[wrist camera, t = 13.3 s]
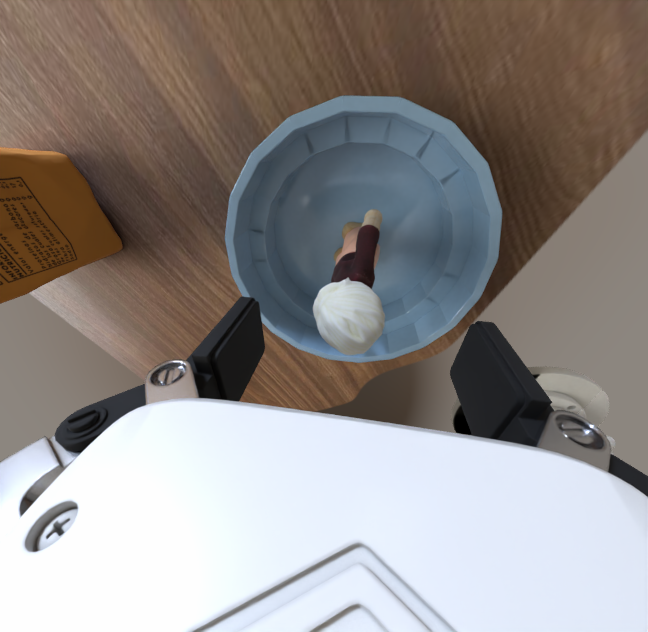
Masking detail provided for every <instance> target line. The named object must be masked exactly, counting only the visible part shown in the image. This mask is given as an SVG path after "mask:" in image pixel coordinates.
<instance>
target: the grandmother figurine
mask: <svg viewBox="0 0 648 632" xmlns="http://www.w3.org/2000/svg"><path fill="white" fill-rule="evenodd" d="M382 218H383V217H382V214H381V212H380V211H379V210H376V209H371V210H369V211H368V212H367V213H366V214H365V217H364V222H363V223H357V222H348V223H347V224H345V225H344V227H343V230H342V237H343V239H344V244H343V247H342V248H339V249H338V250H337V251H336V252H335V254H334V260H335V262H336V264H335V268H334V271H333V275H332V278H331V283H330V284H328V285H326V286H325V287H323V288H322V289H321V290H320V291H319V293H318V295H317V298H316V300H315V302H314V305H313V313H314V317H315V320H316V322H317V327H318V330H319V333H320V335H321V336H322V338H323V339H324V340H325V341H326V342H327V343H328V344H329V345H330V346H332V347H334V348H335V349H337V350H338V351H339V352H341V353H343V354H345V355H356V354H363V353H365V352H366V351H367V350H368V349H369V348H370V347H371V346H372V345H373V343H374V342H375V341H376V340H377V339H378V338H379V337H380V336H381V335H382V331H383V328H384V325H385V324H384V322H385V314H384V312H383V308H382V305H381V300H380V298H379V297H378V296H377V295H376V294H375V293H374V291H373V290H372V287H373V284H374V281H375V274H374V269H375V266H376V264H377V262H378V259H379V254H380V246H379V244H377V243H378V241H379V236H380V224H381V223H382Z"/></svg>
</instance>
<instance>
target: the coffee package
mask: <svg viewBox="0 0 648 632" xmlns="http://www.w3.org/2000/svg"><path fill="white" fill-rule="evenodd" d="M121 249H122V242H121V239H120V238H119V236H118V235H117V234H116V232H115V231H114V229H113V227H112V225H111V224H110V222H109V221H108V219H107V217H106V216H105V215H104V213H103V212H102V210H101V209H100V207H99V205H98V203H97V202H96V200H95V197H94V195H93V193H92V191H91V188H90V186H89V185H88V183H87V181H86V179H85V178H84V177H83V176H82V174H81V173H80V172H79V171H78V170H77V169H76V167H75V166H74V165H73V163H72V162H71V160H70V159H69V158H68V157H67V156H66V155H64V154H61V153H58V152H54V151H35V150H25V149H15V148H3V147H0V304H1V303H3V302H6V301H9V300H12V299H14V298H17V297H20V296H23V295H25V294H27V293H29V292H31V291H33V290H35V289H37V288H38V287H40V286H42V285H44V284H46V283H48V282H50V281H52V280H54V279H56V278H58V277H60V276H63V275H65V274H67V273H70V272H72V271H74V270H76V269H78V268H80V267H82V266H85V265H87V264H90V263H92V262H95V261H97V260H100V259H102V258H105V257H107V256H110V255H112V254H114V253H116V252H119V251H121Z"/></svg>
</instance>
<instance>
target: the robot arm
mask: <svg viewBox="0 0 648 632" xmlns="http://www.w3.org/2000/svg"><path fill="white" fill-rule="evenodd" d="M264 349H265V344H264V336H263V329H262V321H261V313H260V306H259V302H258V301H256V300H255V298H252V297H240V298H239V300H238V301H237V302H236V303H235V304H234V305H233V307H232V308H231V309H230V310H229V311H228V312H227V314H226V315H225V316H224V317H223V318H222V319H221V321H220V322H219V323H218V324H217V325H216V326H215V327H214V329H213V330H212V331H211V332H210V333H209V334H208V336H207V337H206V338H205V339H204V340H203V341H202V342H201V344H200V345H199V346H198V347H197V348H196V349H195V351H194V352H193V353H192V354H191V355H190V356H189V358H188V359H187V360H182V359H173V360H168V361H165V362H163V363H160V364H159V365H157V366H155V367H154V368H153V369H152V370H151V371H149V373H148V374H147V376H146V379H145V384H143V385H141V386H138V387H135V388H133V389H130V390H128V391H125V392H122V393H120V394H117V395H115V396H112V397H109V398H107V399H104V400H102V401H99V402H97V403H94V404H92V405H89V406H86V407H84V408H82V409H80V410H78V411H76V412H74V413H73V414H71V415H70V416H69V417H67V418H66V419H65V420H64V421H63V422H62V423H61V424H60V426H59V427H58V428H57V430H56V433H55V435H54V436H53V437H51V438H49V439H48V438H47V437H46V436H44V437H42V438H41V439H39V440H37V441H35V442H34V443H32V444H30V445H28V446H27V447H25V448H23V449H21V450H20V451H18V452H16V453H14V454H12V455H11V456H9V457H7V458H6V459H4V460H2V461H0V632H648V476H647V475H645V474H643V473H642V472H640V471H638V470H637V469H635V468H634V467H632V466H630V465H629V464H627V463H625V462H624V461H622V460H620V459H619V458H617V457H616V456H614V454H613V452H612V450H611V448H614V447H615V441H614V440H613V438H611V437H609V436H606V435H605V434H604V433H603V432H602V431H601V430H600V429H599V428H598V427H597V426H595V425H594V424H593V423H592V422H590V421H588V420H587V419H586V414H585V411H584V409H583V408H582V407H581V406H580V404H579V403H578V402H577V401H576V400H574V399H573V398H572V397H569V396H567V395H565V394H562V393H558V392H552V391H544V390H543V389H542V388H541V386H540V385H539V384H538V382H537V381H536V379H535V378H534V377H533V375H532V374H531V373H530V371H529V370H528V369H527V367H526V366H525V365H524V363H523V362H522V360H521V359H520V358H519V356H518V355H517V354H516V352H515V351H514V350H513V348H512V347H511V345H510V344H509V343H508V341H507V340H506V339H505V338H504V336H503V335H502V333H501V332H500V330H499V329H498V328H497V326H496V325H495V324H494V323H492V322H482V321H477V322H476V323H475V324H471V325H470V327H469V329H468V332H467V334H466V336H465V338H464V341H463V343H462V345H461V347H460V349H459V352H458V354H457V356H456V358H455V361H454V363H453V365H452V367H451V370H450V376H451V379H452V382H453V384H454V387H455V390H456V393H457V395H458V398H459V401H460V403H461V406H462V409H463V412H464V414H465V417H466V420H467V422H468V425H469V428H470V431H471V433H472V436H470V435H464V434H458V433H450V432H445V431H438V430H431V429H425V428H418V427H412V426H404V425H399V424H391V423H385V422H378V421H372V420H365V419H358V418H352V417H345V416H338V415H331V414H324V413H317V412H310V411H303V410H296V409H289V408H282V407H275V406H268V405H261V404H253V403H245V402H239V400H240V398H241V396H242V394H243V392H244V390H245V388H246V386H247V384H248V383H249V381H250V379H251V377H252V375H253V373H254V371H255V369H256V367H257V365H258V363H259V361H260V359H261V357H262V355H263V353H264Z"/></svg>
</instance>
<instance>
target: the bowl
mask: <svg viewBox="0 0 648 632" xmlns="http://www.w3.org/2000/svg"><path fill="white" fill-rule="evenodd" d="M371 209H376V210H379V211H380V212H381V214H382V217H383V218H382V223H381V224H380V236H379V241H378V243H377V244H379V246H380V254H379V259H378V262H377V264H376V266H375V269H374V274H375V281H374V284H373V287H372V290H373V291H374V293H375V294H376V295H377V296H378V297H379V298H380V300H381V305H382V308H383V312H384V314H385V322H384V324H385V325H384V328H383V331H382V335H381V336H380V337H379V338H378V339H377V340H376V341H375V342H374V343H373V345H372V346H371V347H370V348H369V349H368V350H367V351H366V352H365V353H363V354H356V355H345V354H343V353H341V352H339V351H338V350H337V349H335V348H334V347H332V346H330V345H329V344H328V343H327V342H326V341H325V340H324V339H323V338H322V336H321V335H320V333H319V330H318V327H317V322H316V320H315V317H314V313H313V305H314V302H315V300H316V298H317V295H318V293H319V291H320V290H321V289H322V288H323V287H325V286H326V285H328V284H330V283H331V278H332V275H333V271H334V268H335V264H336V262H335V260H334V254H335V252H336V251H337V250H338V249H339V248H342V247H343V244H344V239H343V237H342V230H343V227H344V225H345V224H347V223H348V222H357V223H363V222H364V217H365V214H366V213H367V212H368V211H369V210H371ZM501 223H502V209H501V205H500V202H499V198H498V195H497V191H496V188H495V185H494V181H493V178H492V174H491V171H490V167H489V165H488V162H487V161H486V160H485V159H484V158H483V156H482V155H481V154H480V153H479V152H478V150H477V149H476V148H475V147H474V146H473V144H472V143H471V142H470V141H469V140H468V138H467V137H466V136H465V135H464V134H463V132H462V131H461V130H460V129H459V128H458V126H457V125H456V124H455V123H454V122H452V121H451V120H449V119H447V118H445V117H443V116H441V115H438V114H436V113H434V112H432V111H430V110H428V109H426V108H424V107H422V106H420V105H418V104H415V103H413V102H411V101H409V100H407V99H405V98H403V97H394V96H349V95H343V96H339V97H336V98H334V99H331V100H329V101H327V102H324V103H322V104H319V105H317V106H314V107H312V108H309V109H307V110H304V111H302V112H299V113H297V114H294V115H292V116H290V117H289V118H287V119H286V120H285V121H284V122H283V123H282V124H281V125H280V126H279V127H278V128H276V129H275V130H274V131H273V132H272V133H271V134H270V135H269V136H268V137H267V138H266V139H265V140H264V141H263V142H262V143H261V144H260V145H259V146H258V147H257V148H255V149H254V150H253V151H252V152H251V154H250V155H249V157H248V159H247V162H246V164H245V166H244V168H243V170H242V172H241V174H240V176H239V178H238V180H237V182H236V184H235V186H234V188H233V190H232V192H231V195H230V198H229V206H228V215H227V224H226V232H225V242H226V248H227V253H228V258H229V263H230V268H231V273H232V276H233V279H234V280H235V282H236V284H237V286H238V288H239V290H240V292H241V294H242V296H243V297H252V298H255V300H256V301H258V302H259V306H260V313H261V321H262V322H263V323H264V324H265V325H266V327H267V328H268V329H269V330H270V331H271V332H273V333H274V334H276V335H277V336H279V337H280V338H282V339H283V340H285V341H287V342H288V343H290V344H291V345H293V346H294V347H296V348H298V349H300V350H303V351H306V352H309V353H311V354H314V355H317V356H320V357H323V358H326V359H330V360H339V361H348V362H357V363H361V362H370V361H379V360H388V359H393V358H396V357H399V356H401V355H404V354H407V353H410V352H413V351H415V350H418V349H421V348H423V347H425V346H427V345H428V344H430V343H431V342H433V341H434V340H436V339H437V338H439V337H440V336H442V335H443V334H445V333H446V332H448V331H449V330H451V329H452V328H454V327H455V326H456V325H457V324H458V323H459V321H460V320H461V319H462V318H463V317H464V316H465V315H466V313H467V312H468V311H469V310H470V309H471V308H472V307H473V306H474V304H475V303H476V302H477V301H478V300H479V299H480V297H481V295H482V293H483V291H484V289H485V286H486V284H487V282H488V280H489V278H490V276H491V273H492V271H493V269H494V267H495V265H496V262H497V260H498V255H499V244H500V234H501Z"/></svg>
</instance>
